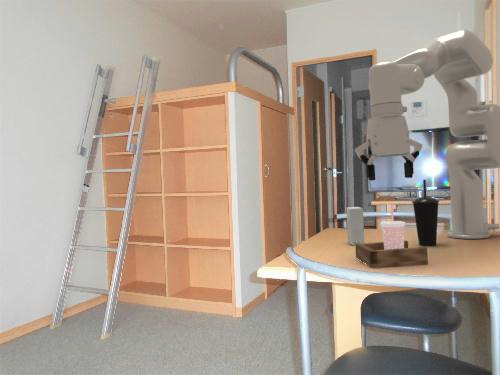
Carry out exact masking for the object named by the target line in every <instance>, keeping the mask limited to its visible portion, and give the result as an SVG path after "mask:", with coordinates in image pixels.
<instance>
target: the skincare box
mask: <svg viewBox="0 0 500 375" xmlns="http://www.w3.org/2000/svg"><path fill="white" fill-rule="evenodd" d="M364 223H365V222H364V207H359V206H353V207H352V206H351V207H349V206H347V207H346V228H347V230H346V232H347V243H348V244H349V245H352V246H355V244H360V243H366V242H365V224H364Z"/></svg>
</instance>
